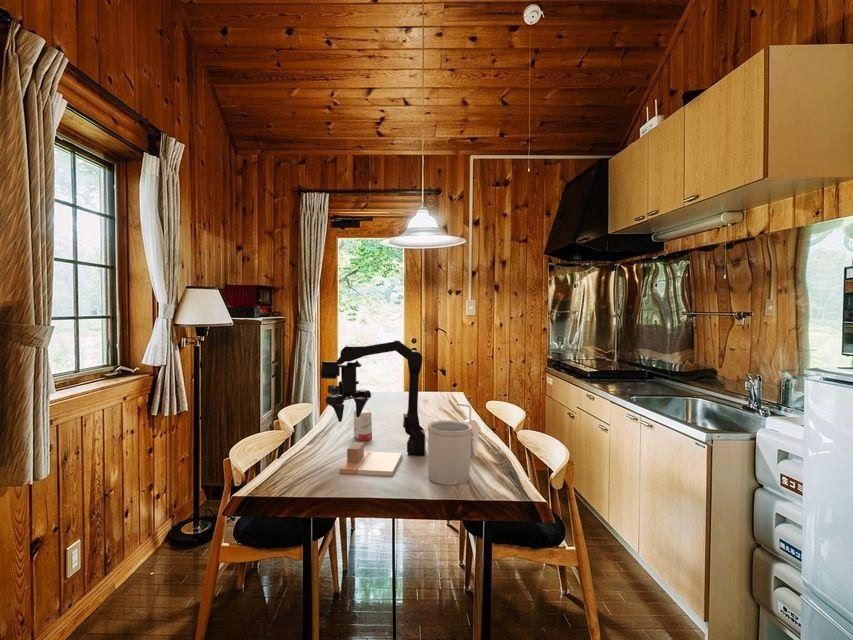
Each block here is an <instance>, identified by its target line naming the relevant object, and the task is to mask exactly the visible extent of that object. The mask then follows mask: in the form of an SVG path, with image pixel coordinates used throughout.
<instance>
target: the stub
mask: <svg viewBox="0 0 853 640" xmlns="http://www.w3.org/2000/svg"><path fill="white" fill-rule="evenodd" d="M370 452H371V451H369V450H367V451H366V450H365V442H356V441H355V442H354V441H353V442H352V443H351V444H350V445H349V446H348V447H347V449H346V454H347V455H346V460H345V461H344V463H343V464H341V466H340V467H339V471H338V473H339V474H351V475H355V474H356V475H358V474H357V471H358V468H359V467H360V466H361V464H362V463H363V462H364V460H365V459H366V458H367V456H368V455H369V454H370Z"/></svg>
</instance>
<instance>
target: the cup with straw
mask: <svg viewBox="0 0 853 640" xmlns="http://www.w3.org/2000/svg"><path fill="white" fill-rule="evenodd" d="M456 406H459V407H467V408H469V409H468V410H469V415H468V416H469V418H467V419H464V420H463V421H462V422H465V423H468V424H470V425H471V426H472V432H471V455H470V458H472V457H473V458H474V457H476V453H477V447H478V438H479V435H480V432H481V431H482V428H481V427H480V426H479V423H478V421H476V420H475V419H473V418H472V406H471V405H469V404H463V403H456Z"/></svg>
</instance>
